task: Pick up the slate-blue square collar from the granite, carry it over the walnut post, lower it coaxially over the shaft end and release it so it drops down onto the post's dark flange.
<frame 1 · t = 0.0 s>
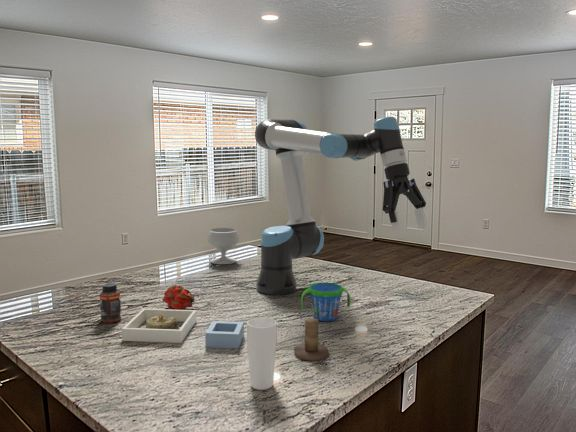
hand: (410, 230, 154), 28 cm above the counter, tool tilted 20°, fingers open, 13 cm apart
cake: (161, 331, 143), on the counter
post: (311, 353, 129), on the counter
drinking glass: (261, 386, 111), on the counter
dragon fruit: (179, 309, 162), on the counter
supplement bottle: (111, 320, 151), on the counter
collar: (225, 341, 136), on the counter
cream rectangular open frame: (161, 330, 143), on the counter
snack cup: (325, 318, 155), on the counter
chalice: (223, 262, 226), on the counter
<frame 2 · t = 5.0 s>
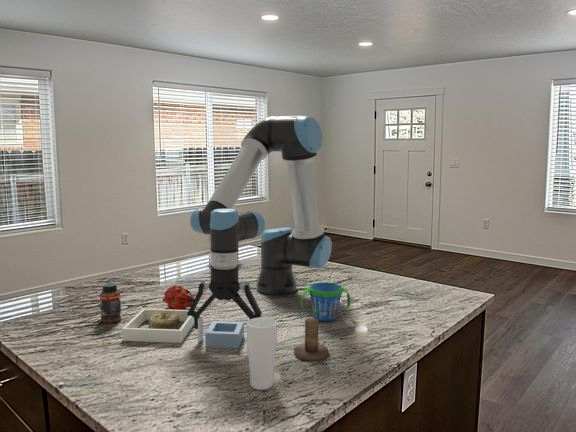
hand: (224, 340, 136), 0 cm above the counter, tool pointing down, fingers open, 13 cm apart
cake: (164, 328, 146), on the counter
everything else where it was.
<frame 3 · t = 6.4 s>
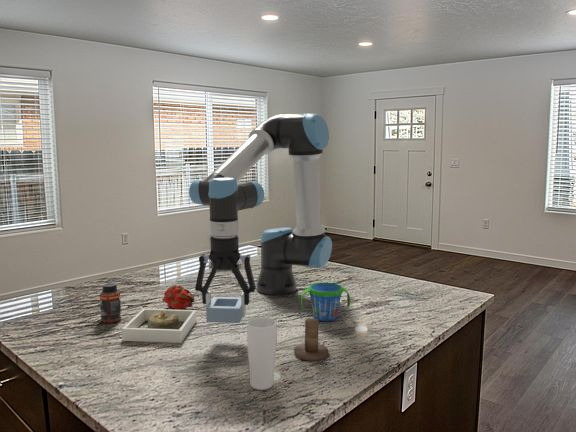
hand: (226, 315, 135), 7 cm above the counter, tool pointing down, fingers closed on collar, 9 cm apart
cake: (163, 328, 146), on the counter, touching cream rectangular open frame
collar: (226, 316, 135), point 7 cm above the counter, touching gripper
everything else where it was.
when the fingers open (2 cm above the counter, at t = 10.7 s): collar stays where it is, resting on post.
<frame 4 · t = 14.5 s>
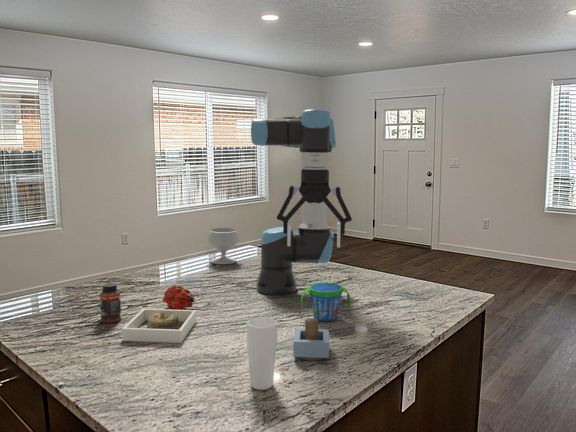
hand: (313, 246, 134), 27 cm above the counter, tool pointing down, fingers open, 13 cm apart
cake: (163, 328, 146), on the counter
collar: (311, 349, 128), point 1 cm above the counter, touching post
everything else where it was.
at the end: collar 0.0 cm off-centre on the post, point 1.0 cm above the post's base; the gripper is holding nothing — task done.
